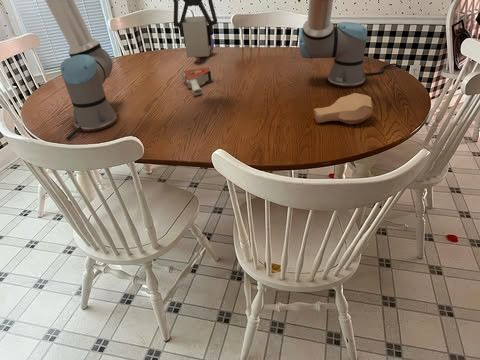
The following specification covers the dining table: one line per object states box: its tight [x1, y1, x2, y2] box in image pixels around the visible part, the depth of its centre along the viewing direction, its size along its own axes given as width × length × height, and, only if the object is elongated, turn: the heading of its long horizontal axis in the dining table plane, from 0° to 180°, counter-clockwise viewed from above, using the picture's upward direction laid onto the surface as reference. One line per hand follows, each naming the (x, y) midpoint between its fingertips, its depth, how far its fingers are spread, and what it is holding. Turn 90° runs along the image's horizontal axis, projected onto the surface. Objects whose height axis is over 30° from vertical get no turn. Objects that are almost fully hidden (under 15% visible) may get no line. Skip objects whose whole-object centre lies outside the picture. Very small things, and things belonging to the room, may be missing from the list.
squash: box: [313, 92, 374, 125], centre depth 122 cm, size 11×20×9 cm, turn 92°
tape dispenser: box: [180, 66, 212, 96], centre depth 156 cm, size 18×5×20 cm
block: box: [182, 15, 211, 58], centre depth 130 cm, size 8×9×12 cm
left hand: (198, 45), depth 132 cm, fingers closed on block, 8 cm apart
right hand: (313, 0), depth 164 cm, fingers open, 13 cm apart
